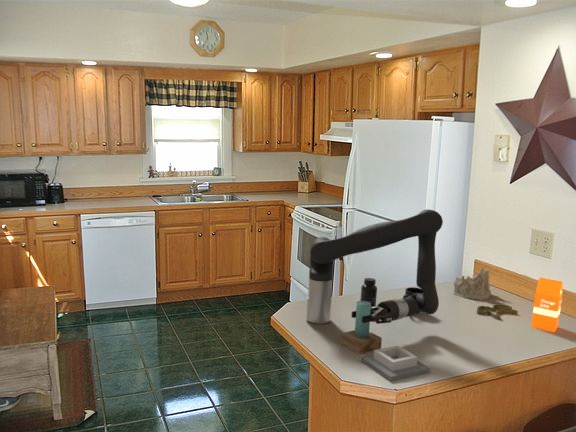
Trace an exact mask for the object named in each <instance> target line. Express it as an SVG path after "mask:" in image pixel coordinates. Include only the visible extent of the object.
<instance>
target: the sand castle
mask: <svg viewBox="0 0 576 432" xmlns="http://www.w3.org/2000/svg"><path fill="white" fill-rule="evenodd" d="M489 274H490V273H489V269H485V267H481V268H480V270H479V272H475V275H474V278H473V277H470V276H469V275H467V276H466V278H465V275H461V276H460V277H461V278H460V277H455V280H454V283H453V286H454V291H452V294H453V295H455V296H458V297H461V298H465V299H470V298H471V300H475V299H476V300H477V299H484V300H488V299H489V298H490V297H491V296H492V291H491V289H490V282H489V281H490V275H489ZM488 297H489V298H488Z"/></svg>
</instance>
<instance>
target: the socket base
mask: <svg viewBox="0 0 576 432" xmlns="http://www.w3.org/2000/svg"><path fill="white" fill-rule="evenodd" d="M418 358H419V357H418V356H416V355H415V354H413V353H411V352H409V351H408V350H406V349H404V348H403V347H402V346H399V345H393V346H388V347H383V348H382V347H381V349H377V350H373V353H371V354H366V355H362V356H360V361H359V362H362V363H363V364H365V365H366V366H368V367H369V368H371V369H372V370H373V371H374V372H376V373H378V374H379V375H381V376H382V377H383V378H385V379H386V380H387V381H389V382H394V381H398V380H403V379H407V378H411V377H415V376H419V375H424V374H428V373H431V368H430V367H429V366H428V365H426V364H424V363H423V362H421V361H419V360H418Z"/></svg>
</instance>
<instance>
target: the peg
mask: <svg viewBox="0 0 576 432" xmlns="http://www.w3.org/2000/svg"><path fill="white" fill-rule="evenodd" d="M355 311H356V318H355V325H354V330H355V336H356V337H358V338H368V337H369V332H370V325H371V322H367V323H362V317H363V316H368V315H370V312H371V303H370V302H367V301H360V300H359V301H356V308H355Z"/></svg>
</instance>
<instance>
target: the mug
mask: <svg viewBox="0 0 576 432" xmlns="http://www.w3.org/2000/svg"><path fill="white" fill-rule="evenodd" d="M416 293H422V294H424V292H423V290H422V289H421V288H419V287H407V288H405V293H404V295H402V296H403V297H402V298H407V297H409V296H411V295H413V294H416ZM418 314H421V312H419V311H418V312H417V313H416V314H415V315H418Z"/></svg>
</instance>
